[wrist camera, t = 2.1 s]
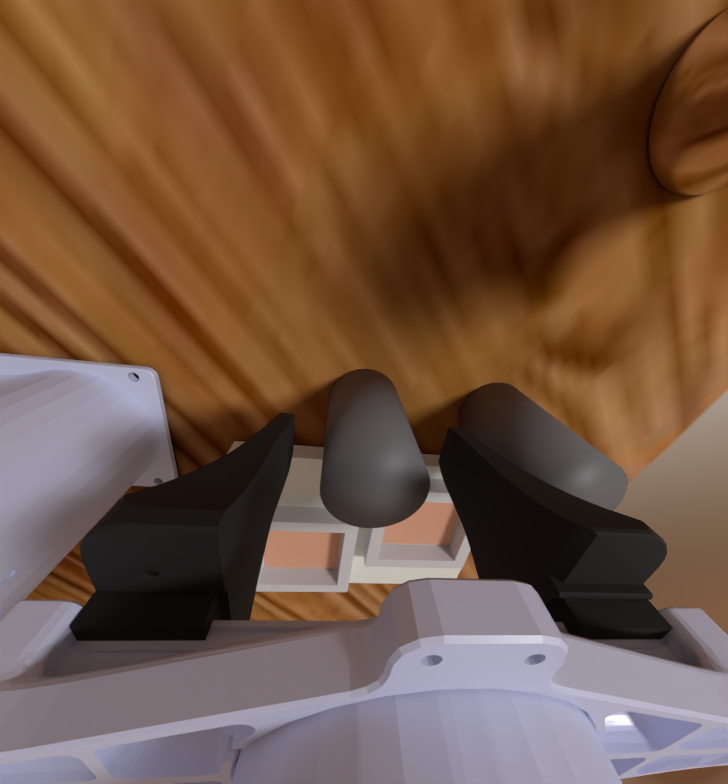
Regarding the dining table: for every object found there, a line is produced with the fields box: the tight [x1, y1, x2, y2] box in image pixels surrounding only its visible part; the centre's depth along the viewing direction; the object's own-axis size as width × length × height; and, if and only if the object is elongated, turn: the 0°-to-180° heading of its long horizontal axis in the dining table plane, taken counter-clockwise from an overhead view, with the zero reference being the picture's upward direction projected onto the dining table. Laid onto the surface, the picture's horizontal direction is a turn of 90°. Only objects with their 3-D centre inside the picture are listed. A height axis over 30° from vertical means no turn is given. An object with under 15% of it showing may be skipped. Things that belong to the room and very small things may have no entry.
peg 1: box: [320, 369, 430, 528], centre depth 13 cm, size 4×4×7 cm
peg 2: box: [459, 383, 628, 511], centre depth 14 cm, size 4×4×7 cm
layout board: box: [227, 441, 471, 592], centre depth 19 cm, size 17×12×2 cm
